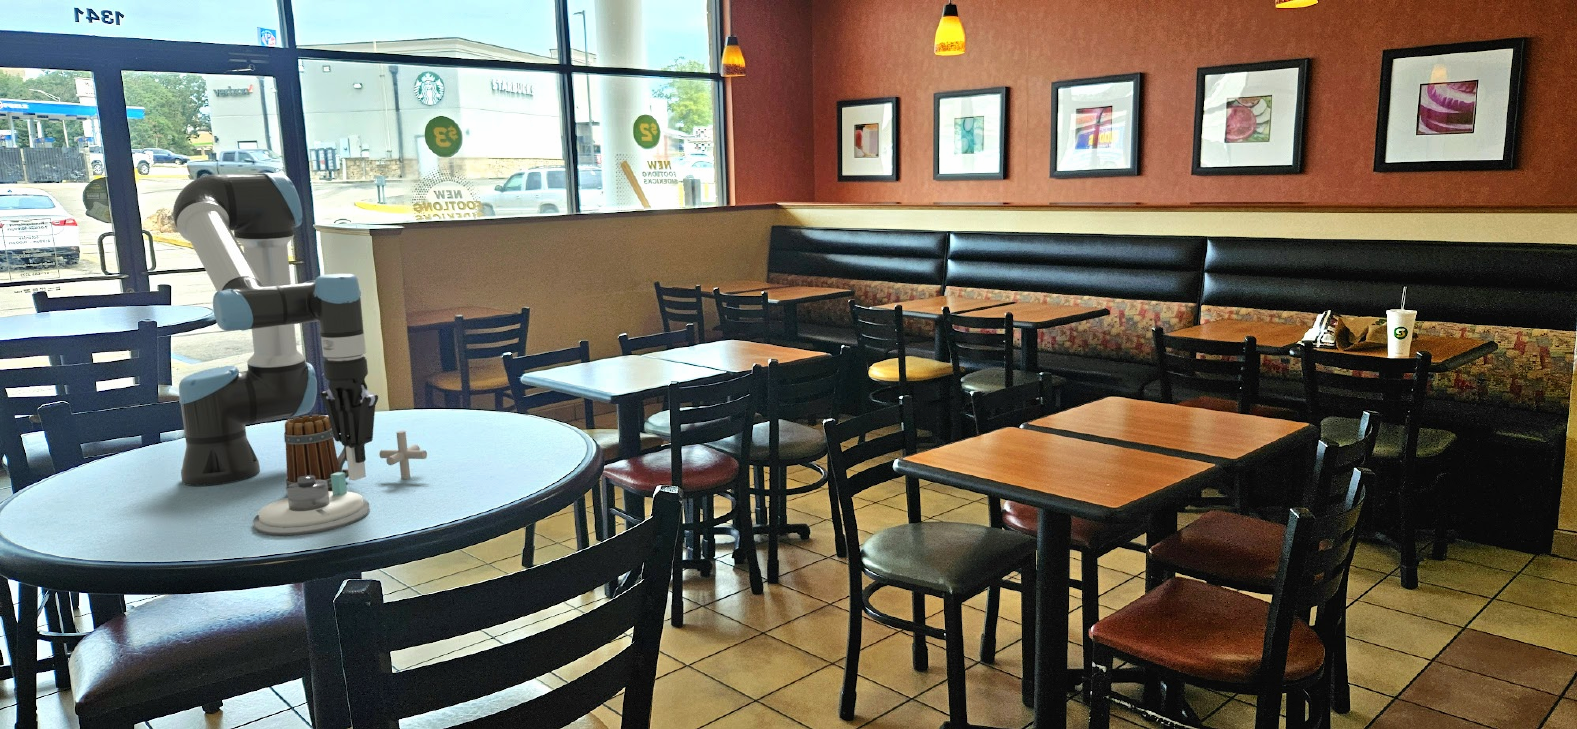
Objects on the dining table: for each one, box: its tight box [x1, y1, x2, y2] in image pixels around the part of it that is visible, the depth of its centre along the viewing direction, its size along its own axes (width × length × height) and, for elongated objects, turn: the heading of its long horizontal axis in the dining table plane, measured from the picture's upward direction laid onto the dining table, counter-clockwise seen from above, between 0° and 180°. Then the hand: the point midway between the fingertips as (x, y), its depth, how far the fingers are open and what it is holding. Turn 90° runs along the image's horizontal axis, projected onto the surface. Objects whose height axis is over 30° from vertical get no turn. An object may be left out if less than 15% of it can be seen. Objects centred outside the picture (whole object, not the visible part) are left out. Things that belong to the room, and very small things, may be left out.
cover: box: [286, 475, 330, 511], centre depth 201 cm, size 7×7×6 cm
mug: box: [283, 414, 349, 491], centre depth 222 cm, size 16×11×15 cm
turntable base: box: [252, 498, 371, 537], centre depth 202 cm, size 20×20×1 cm
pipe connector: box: [378, 430, 428, 480], centre depth 227 cm, size 10×10×10 cm
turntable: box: [257, 472, 364, 527], centre depth 202 cm, size 18×18×5 cm
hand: (357, 478), depth 206 cm, fingers closed
